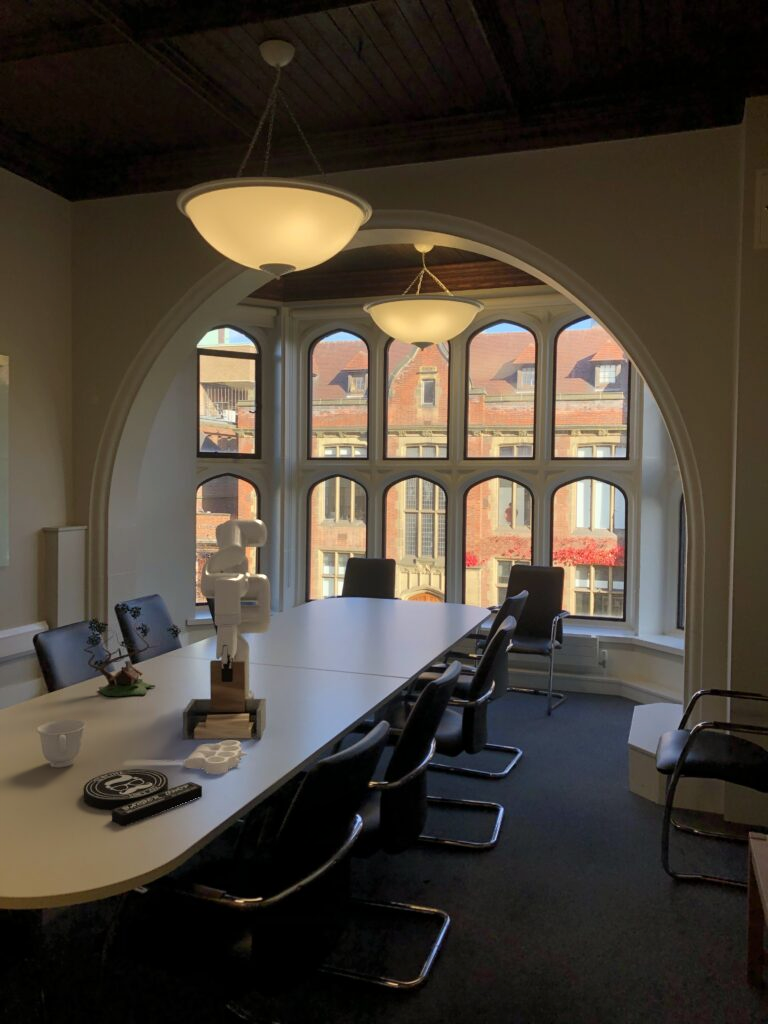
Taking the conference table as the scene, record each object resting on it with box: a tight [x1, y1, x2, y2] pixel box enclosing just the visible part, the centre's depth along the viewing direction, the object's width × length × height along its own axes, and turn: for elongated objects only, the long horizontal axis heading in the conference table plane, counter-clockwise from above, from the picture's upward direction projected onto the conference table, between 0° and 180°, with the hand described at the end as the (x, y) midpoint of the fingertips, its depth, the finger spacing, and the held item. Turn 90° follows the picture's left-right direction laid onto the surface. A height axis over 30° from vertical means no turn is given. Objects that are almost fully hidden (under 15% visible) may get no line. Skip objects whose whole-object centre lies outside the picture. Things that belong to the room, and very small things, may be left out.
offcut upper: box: [206, 714, 249, 730], centre depth 234 cm, size 6×12×2 cm, turn 98°
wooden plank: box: [209, 659, 245, 712], centre depth 240 cm, size 2×10×15 cm, turn 93°
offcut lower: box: [194, 722, 254, 738], centre depth 234 cm, size 7×16×2 cm, turn 92°
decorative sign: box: [83, 768, 203, 827], centre depth 192 cm, size 22×3×25 cm
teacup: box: [36, 719, 87, 768], centre depth 212 cm, size 12×15×10 cm
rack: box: [182, 698, 267, 741], centre depth 236 cm, size 13×22×9 cm, turn 92°
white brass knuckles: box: [183, 739, 248, 775], centre depth 215 cm, size 3×18×15 cm
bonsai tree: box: [83, 602, 181, 698], centre depth 280 cm, size 35×24×32 cm
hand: (227, 679), depth 240 cm, fingers closed on wooden plank, 2 cm apart
